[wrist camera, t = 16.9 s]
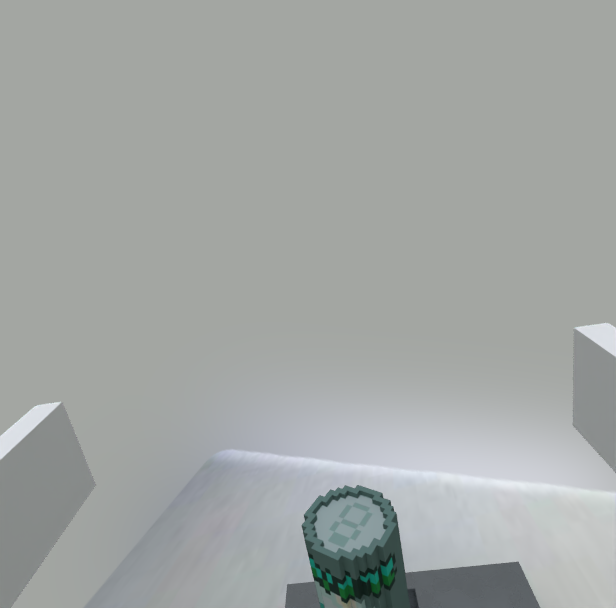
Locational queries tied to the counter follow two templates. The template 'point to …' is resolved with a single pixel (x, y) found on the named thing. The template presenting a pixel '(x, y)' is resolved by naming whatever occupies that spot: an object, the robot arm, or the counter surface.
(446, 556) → the counter surface
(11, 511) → the robot arm
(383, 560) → the can
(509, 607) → the grey slab with hole
